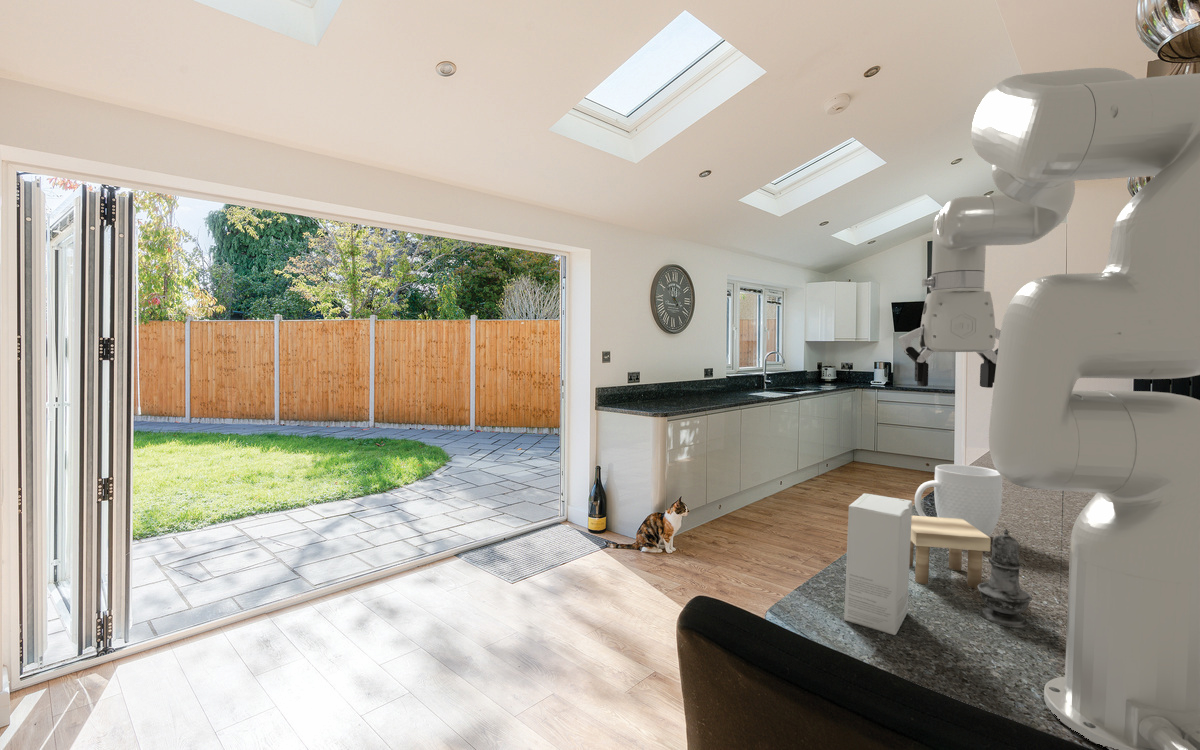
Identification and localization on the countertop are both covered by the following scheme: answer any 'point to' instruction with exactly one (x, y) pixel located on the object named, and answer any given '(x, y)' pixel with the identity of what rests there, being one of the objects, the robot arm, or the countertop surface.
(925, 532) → the stool
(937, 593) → the countertop surface
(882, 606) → the skincare box
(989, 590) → the salt shaker
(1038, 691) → the countertop surface
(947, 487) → the mug
